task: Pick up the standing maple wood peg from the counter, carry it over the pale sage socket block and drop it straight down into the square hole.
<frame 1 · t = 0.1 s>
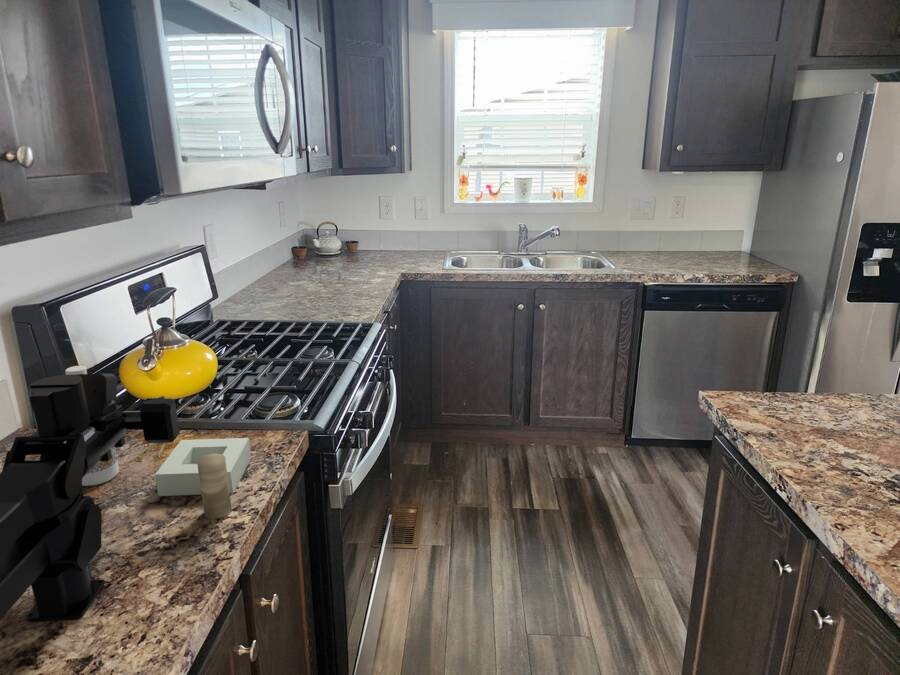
hand: (133, 399, 95), 17 cm above the worktop, fingers open, 9 cm apart
tongs: (158, 449, 116), on the worktop
peg: (218, 511, 95), on the worktop
bath foam: (97, 477, 105), on the worktop
socket block: (207, 475, 105), on the worktop
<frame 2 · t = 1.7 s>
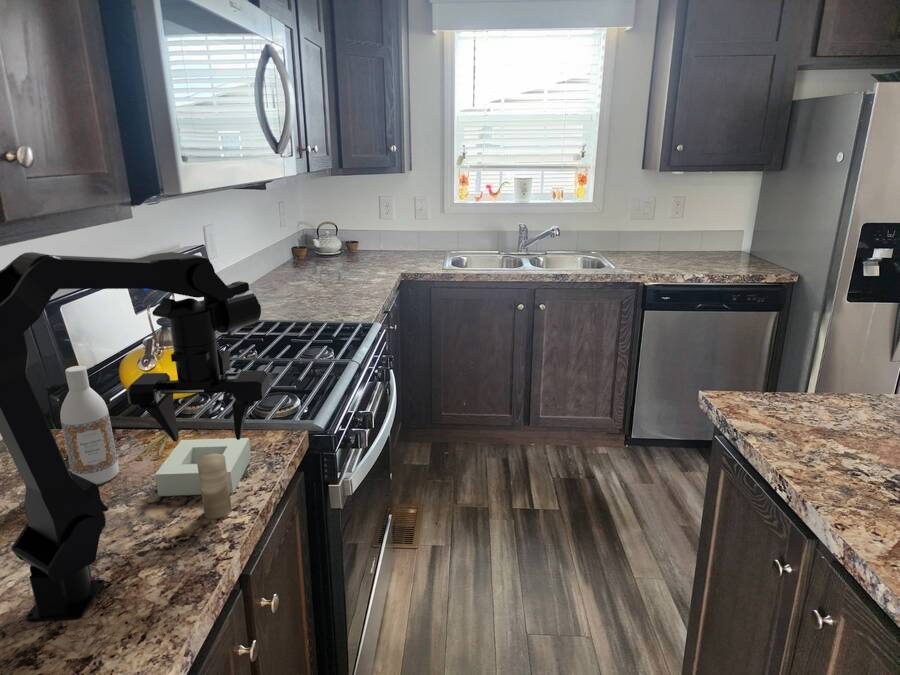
hand: (207, 439, 91), 12 cm above the worktop, fingers open, 9 cm apart
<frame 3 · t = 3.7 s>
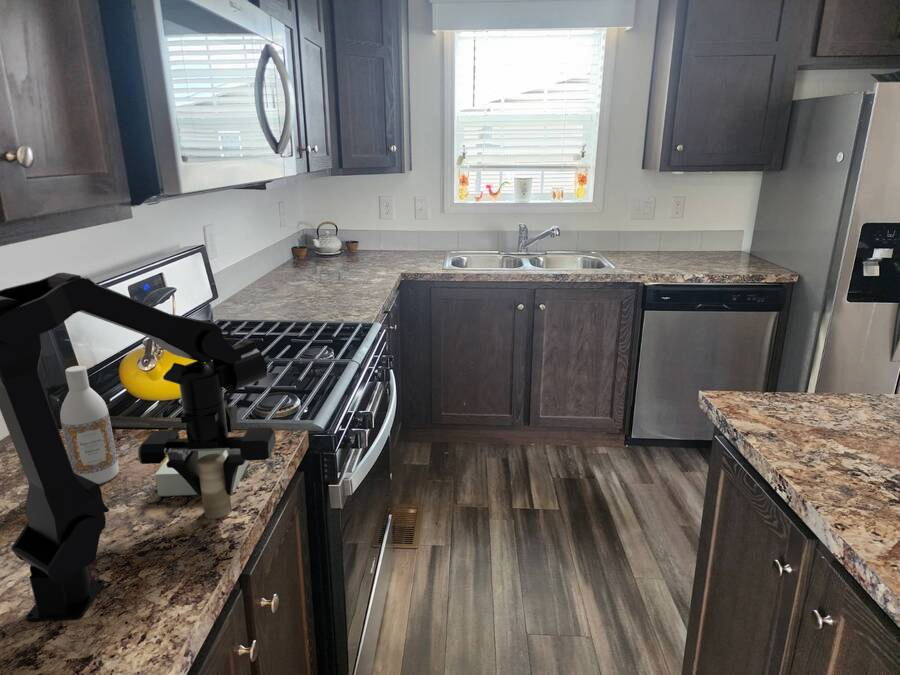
hand: (215, 494, 94), 3 cm above the worktop, fingers closed on peg, 4 cm apart
peg: (218, 511, 95), on the worktop, touching gripper
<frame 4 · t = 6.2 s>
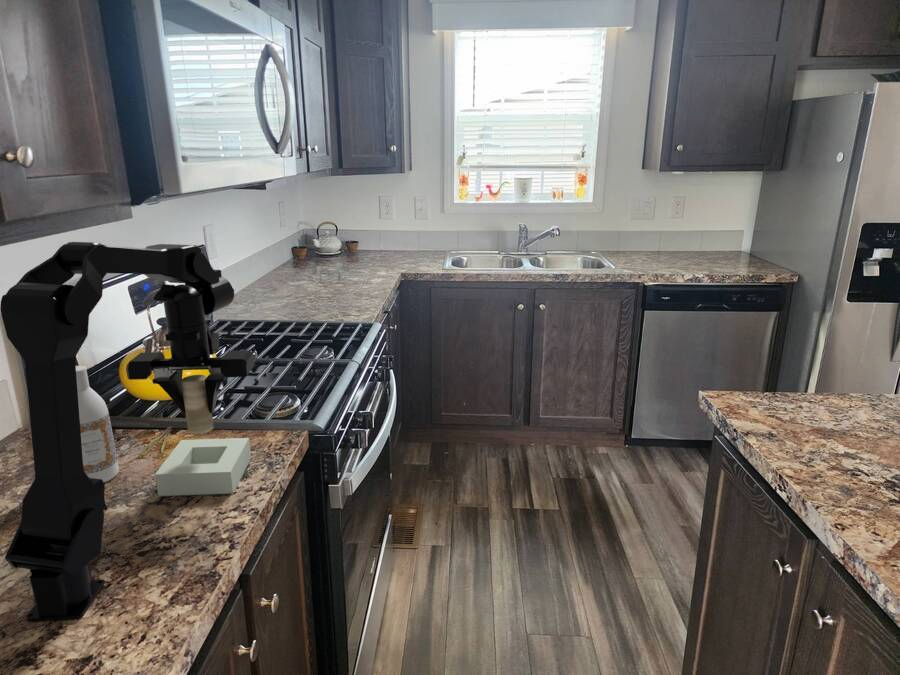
hand: (198, 412, 101), 12 cm above the worktop, fingers closed on peg, 4 cm apart
peg: (201, 428, 102), point 9 cm above the worktop, touching gripper
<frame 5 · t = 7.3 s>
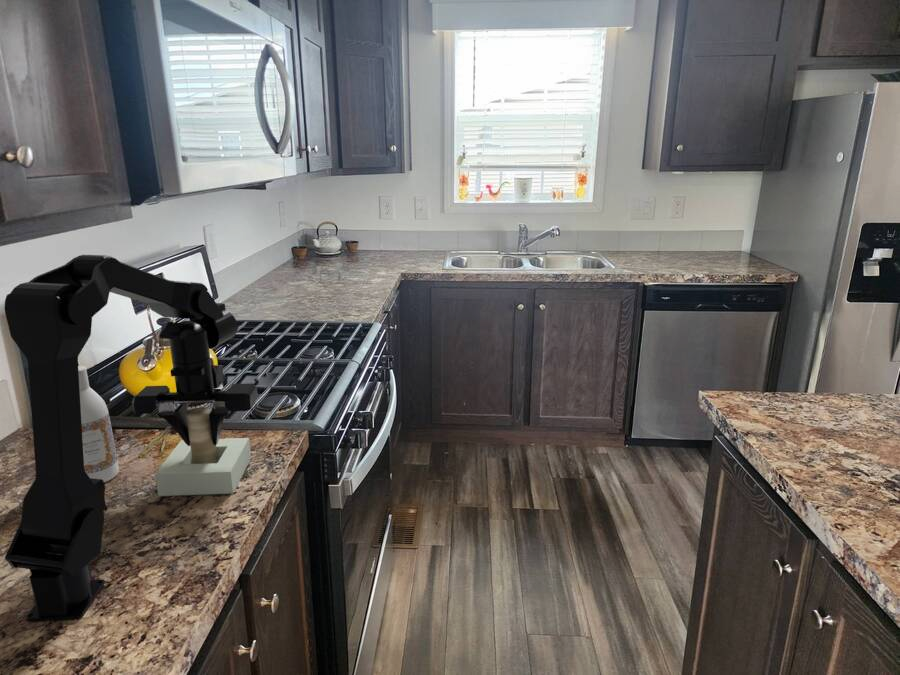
hand: (203, 444, 103), 6 cm above the worktop, fingers closed on peg, 4 cm apart
peg: (205, 460, 104), point 3 cm above the worktop, touching gripper
when the fingers open (4 cm above the worktop, at t = 8.8 s): peg drops 1 cm, resting in socket block.
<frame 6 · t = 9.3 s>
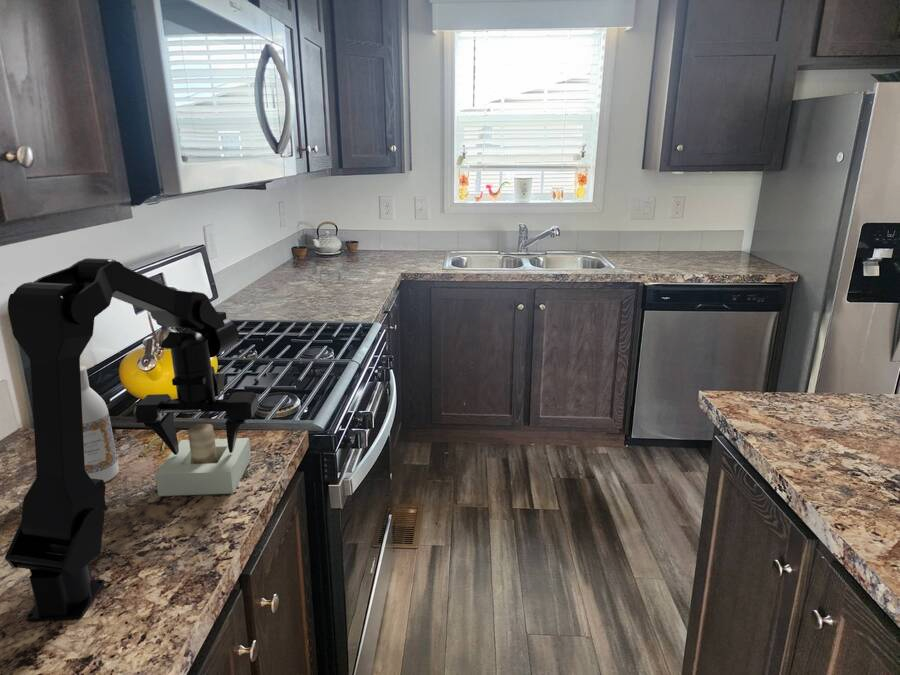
hand: (204, 452, 104), 4 cm above the worktop, fingers open, 9 cm apart
peg: (207, 475, 105), resting in socket block
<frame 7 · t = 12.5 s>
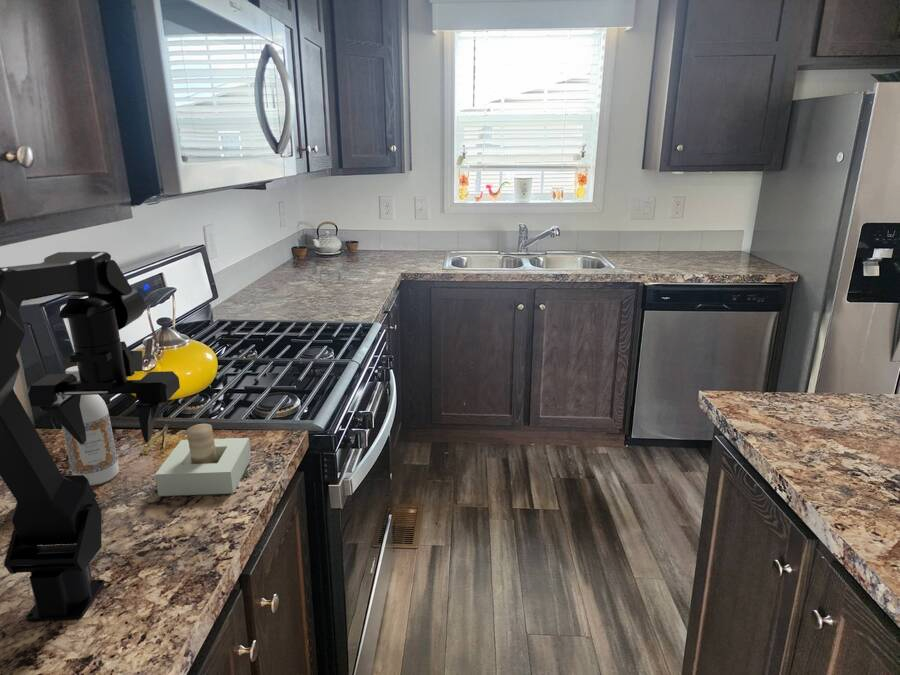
hand: (115, 441, 89), 13 cm above the worktop, fingers open, 9 cm apart
at the end: peg 0.1 cm off-centre on the socket block, point 0.0 cm above the socket block's base; peg tilted 1°; the gripper is holding nothing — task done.
